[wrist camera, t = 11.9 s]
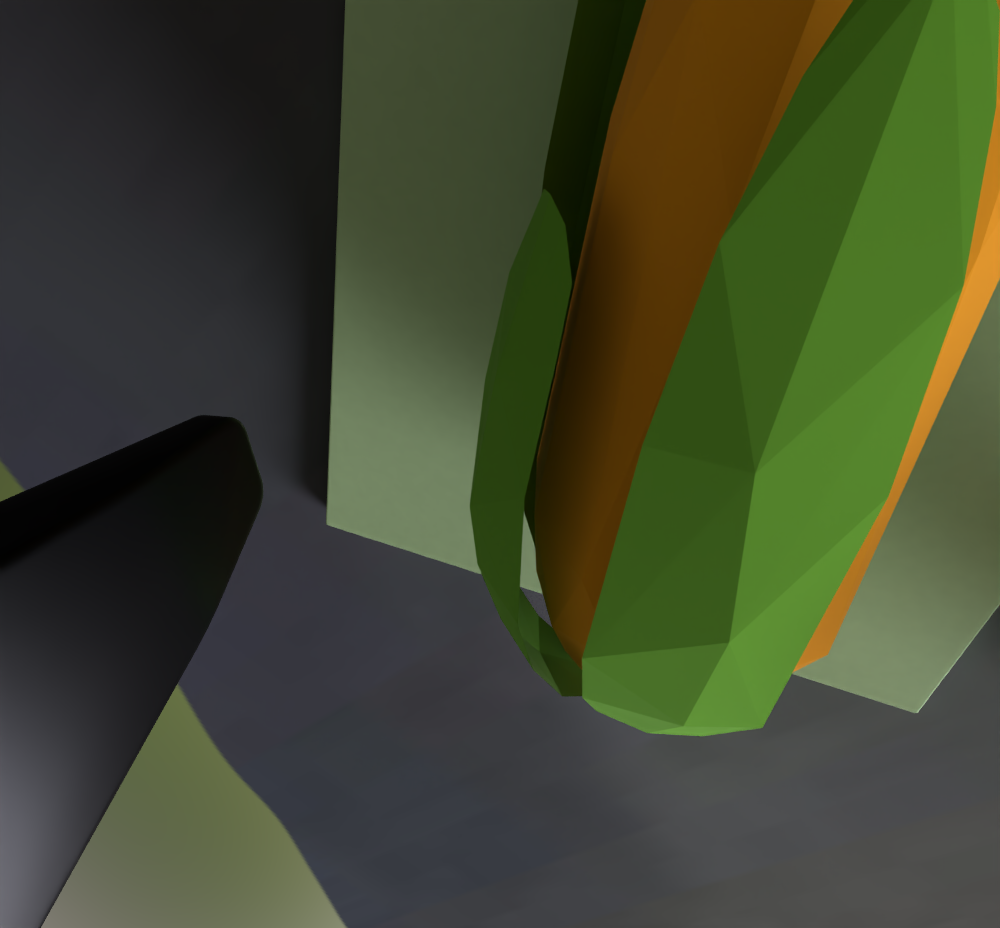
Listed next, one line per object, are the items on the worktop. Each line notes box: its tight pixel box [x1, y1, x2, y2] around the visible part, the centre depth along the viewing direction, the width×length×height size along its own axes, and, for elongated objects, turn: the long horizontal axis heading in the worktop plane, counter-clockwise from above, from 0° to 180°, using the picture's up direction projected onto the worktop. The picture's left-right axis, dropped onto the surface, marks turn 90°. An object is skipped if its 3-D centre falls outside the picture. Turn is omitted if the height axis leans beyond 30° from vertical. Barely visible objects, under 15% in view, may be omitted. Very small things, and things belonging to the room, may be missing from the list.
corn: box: [470, 0, 1000, 736], centre depth 13 cm, size 7×8×20 cm
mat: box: [326, 0, 1000, 713], centre depth 16 cm, size 16×24×1 cm, turn 172°
